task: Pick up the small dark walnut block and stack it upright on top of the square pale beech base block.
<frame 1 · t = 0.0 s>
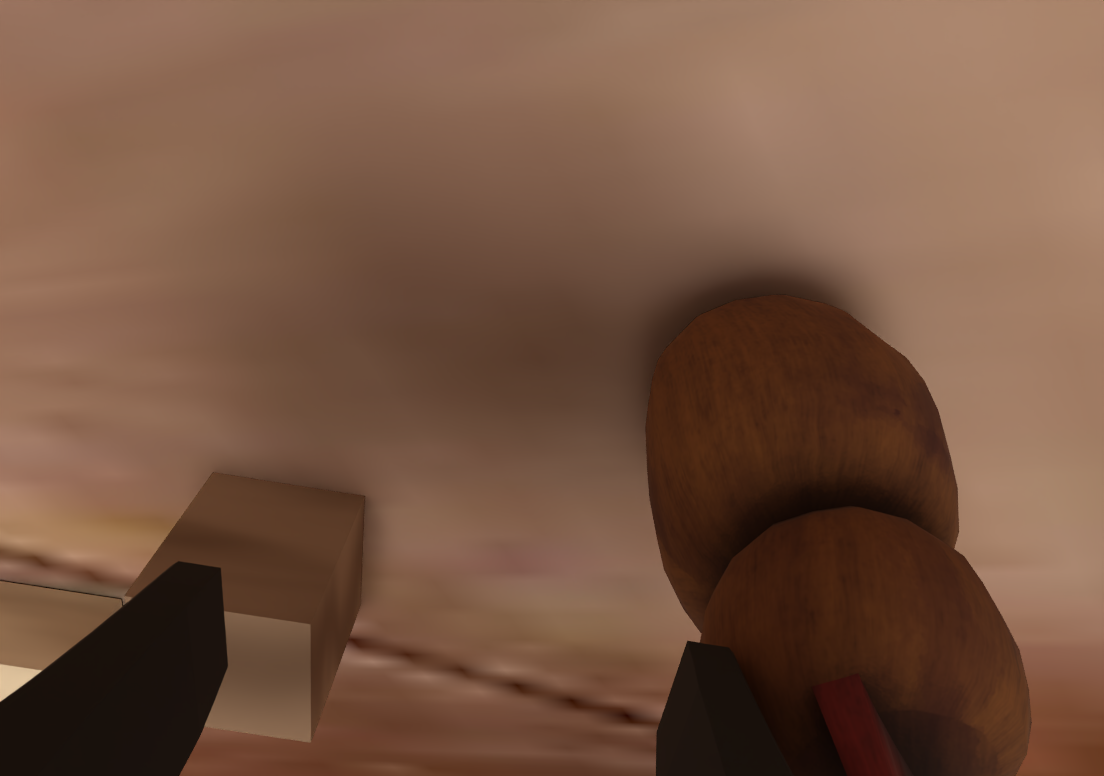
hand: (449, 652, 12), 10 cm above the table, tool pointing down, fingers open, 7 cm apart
wooden figurine: (751, 374, 21), on the table, touching gripper
base block: (7, 673, 28), on the table
walnut block: (290, 540, 25), on the table
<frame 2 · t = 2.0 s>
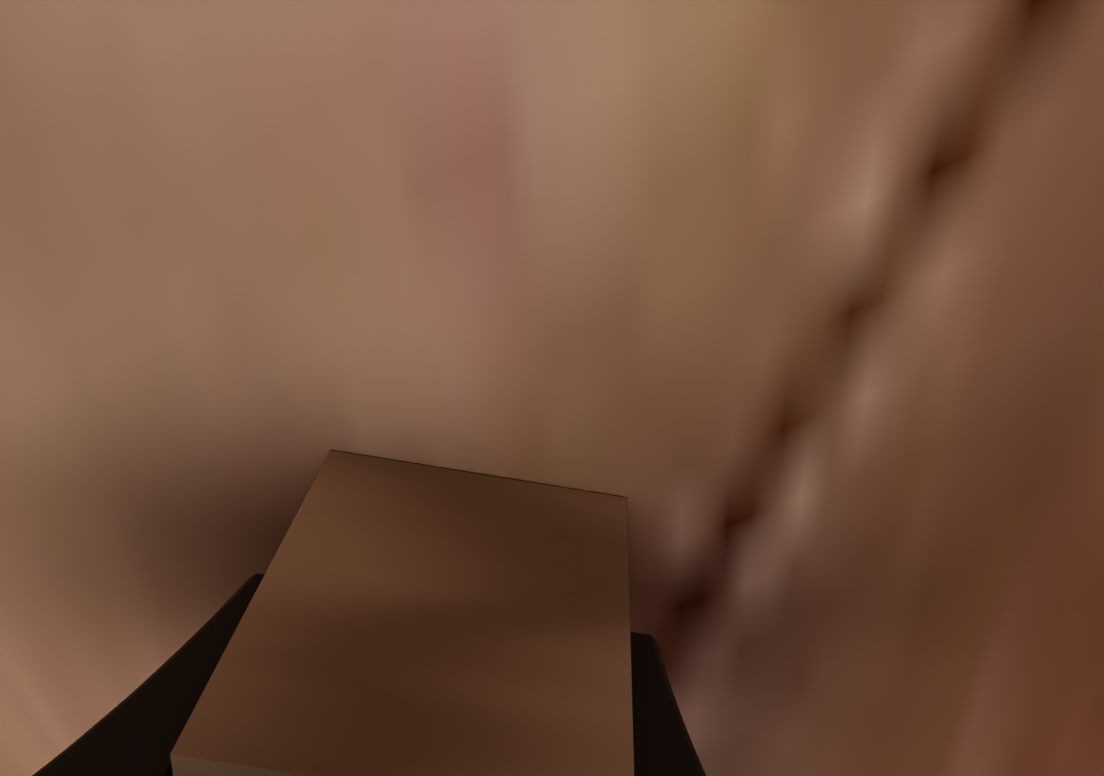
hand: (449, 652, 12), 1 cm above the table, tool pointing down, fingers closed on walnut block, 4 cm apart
walnut block: (464, 583, 13), on the table, touching gripper
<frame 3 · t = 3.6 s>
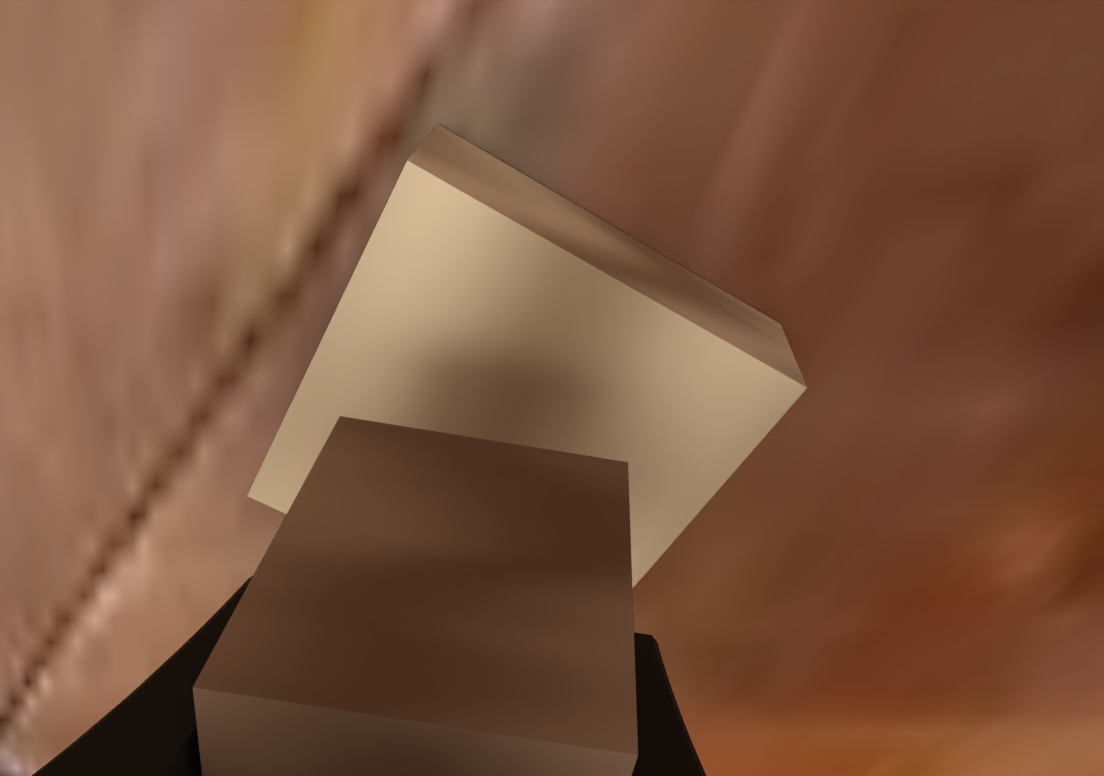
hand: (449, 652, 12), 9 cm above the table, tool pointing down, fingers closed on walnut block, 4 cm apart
base block: (521, 378, 20), on the table
walnut block: (470, 548, 13), point 7 cm above the table, touching gripper
when the fingers open (5 cm above the table, at t = 5.2 s): walnut block stays where it is, resting on base block.
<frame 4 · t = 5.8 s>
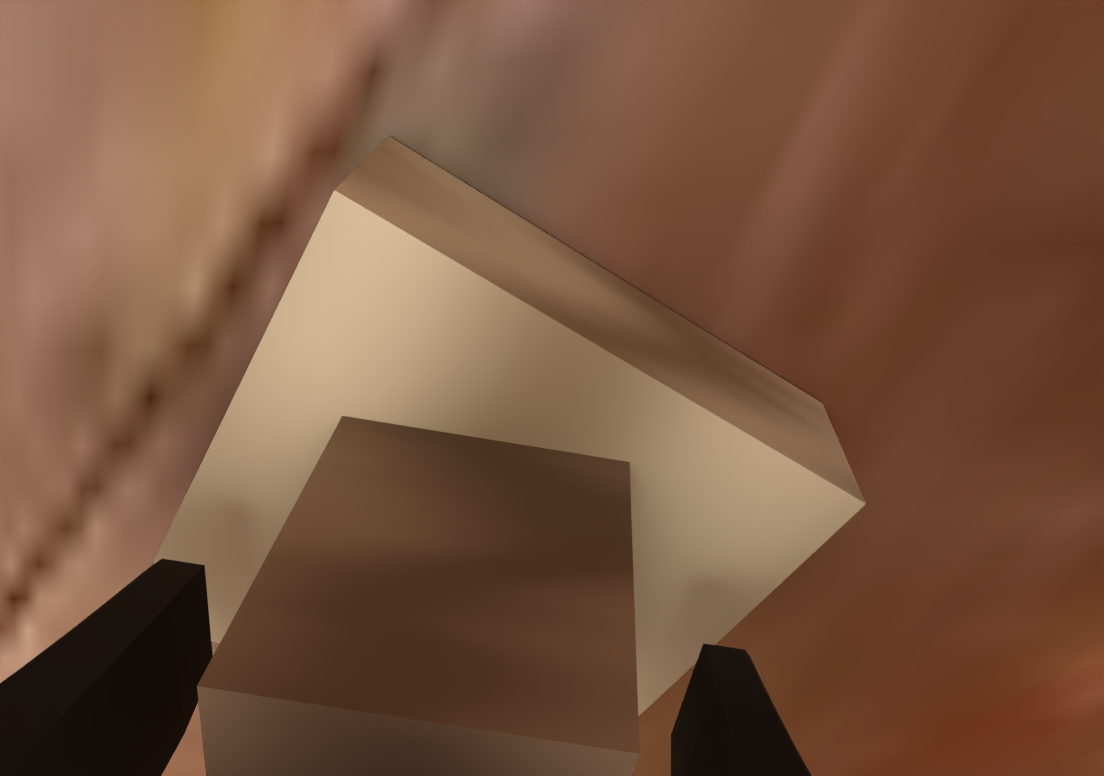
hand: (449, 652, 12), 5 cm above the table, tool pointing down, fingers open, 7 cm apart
base block: (492, 455, 16), on the table
walnut block: (472, 548, 13), point 3 cm above the table, touching base block
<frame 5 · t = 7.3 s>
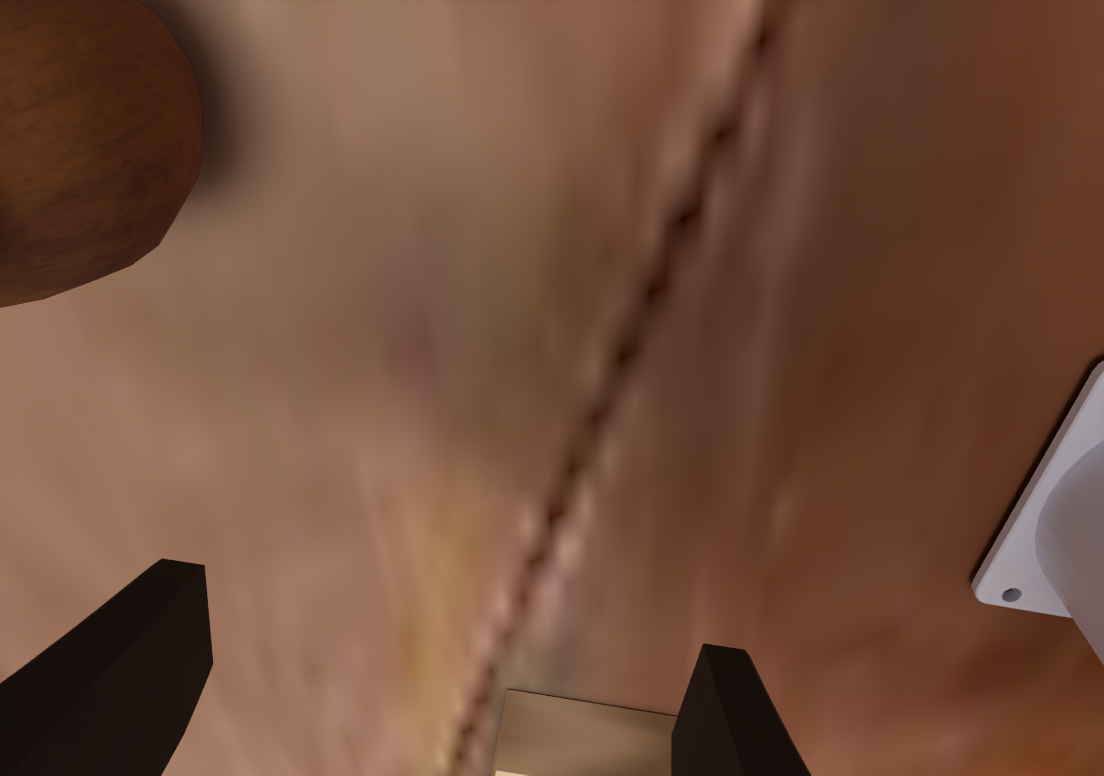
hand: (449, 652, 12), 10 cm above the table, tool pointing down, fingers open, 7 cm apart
wooden figurine: (106, 87, 18), on the table
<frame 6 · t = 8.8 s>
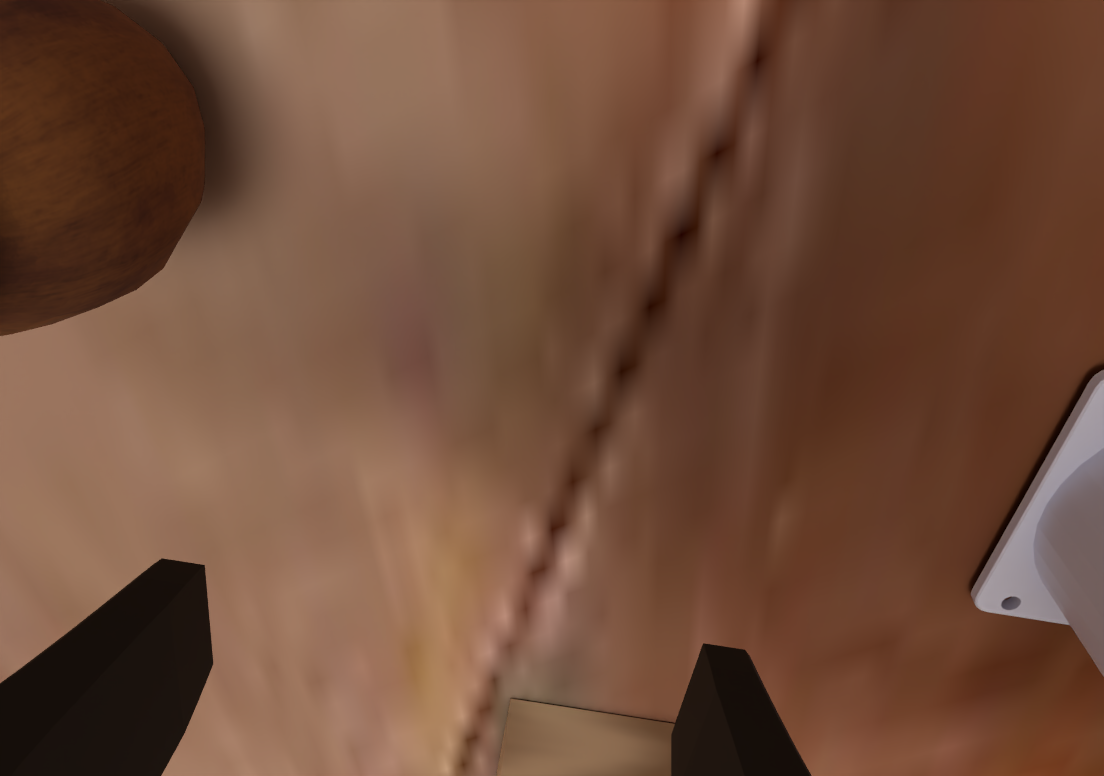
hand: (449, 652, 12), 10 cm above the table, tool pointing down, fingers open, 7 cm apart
wooden figurine: (109, 109, 19), on the table
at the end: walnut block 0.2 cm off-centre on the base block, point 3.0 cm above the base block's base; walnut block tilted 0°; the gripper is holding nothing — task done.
